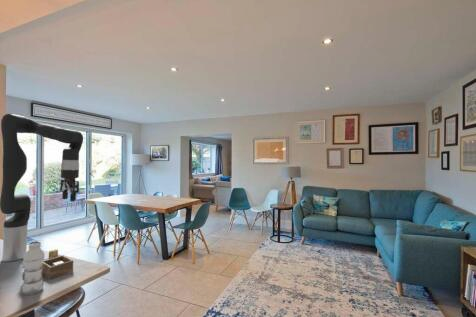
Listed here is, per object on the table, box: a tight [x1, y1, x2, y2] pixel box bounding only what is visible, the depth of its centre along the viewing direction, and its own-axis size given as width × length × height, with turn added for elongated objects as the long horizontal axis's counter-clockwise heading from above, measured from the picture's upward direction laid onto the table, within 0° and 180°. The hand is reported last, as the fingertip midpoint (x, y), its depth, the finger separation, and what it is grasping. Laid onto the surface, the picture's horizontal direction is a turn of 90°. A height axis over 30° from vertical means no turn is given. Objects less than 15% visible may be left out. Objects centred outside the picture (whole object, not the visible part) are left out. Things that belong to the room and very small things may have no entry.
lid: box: [43, 249, 61, 261], centre depth 118 cm, size 11×10×7 cm
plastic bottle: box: [21, 241, 45, 296], centre depth 94 cm, size 6×7×20 cm
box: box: [42, 255, 74, 280], centre depth 110 cm, size 10×9×6 cm
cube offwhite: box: [52, 260, 64, 266], centre depth 112 cm, size 4×4×4 cm
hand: (68, 200), depth 122 cm, fingers open, 8 cm apart
